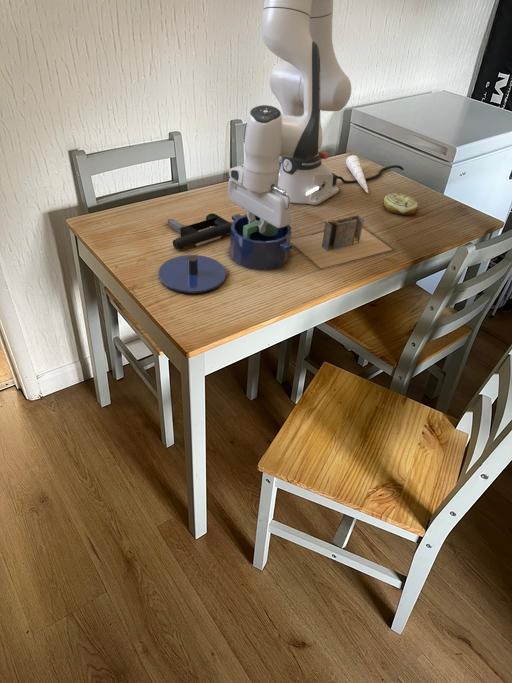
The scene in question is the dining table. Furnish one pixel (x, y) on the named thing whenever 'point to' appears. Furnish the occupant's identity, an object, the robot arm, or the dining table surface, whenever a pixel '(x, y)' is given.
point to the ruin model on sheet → (340, 242)
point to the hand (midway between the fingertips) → (256, 229)
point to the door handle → (197, 238)
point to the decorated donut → (400, 204)
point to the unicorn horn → (356, 170)
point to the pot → (258, 246)
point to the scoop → (256, 229)
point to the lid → (192, 273)
